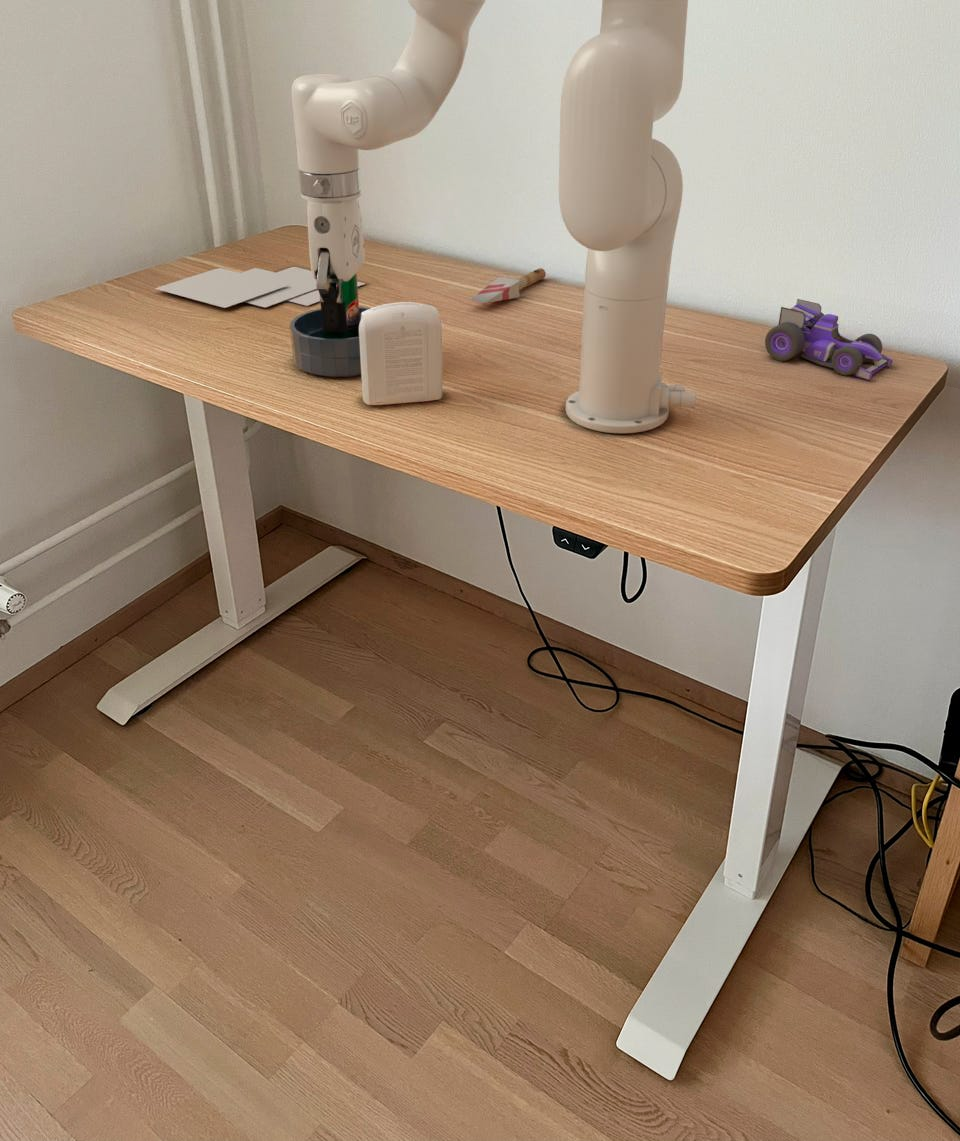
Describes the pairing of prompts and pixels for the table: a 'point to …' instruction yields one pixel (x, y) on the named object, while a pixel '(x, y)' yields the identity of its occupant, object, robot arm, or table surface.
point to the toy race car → (823, 341)
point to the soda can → (348, 309)
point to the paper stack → (249, 287)
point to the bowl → (323, 348)
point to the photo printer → (401, 353)
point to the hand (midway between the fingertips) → (341, 322)
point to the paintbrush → (508, 287)
